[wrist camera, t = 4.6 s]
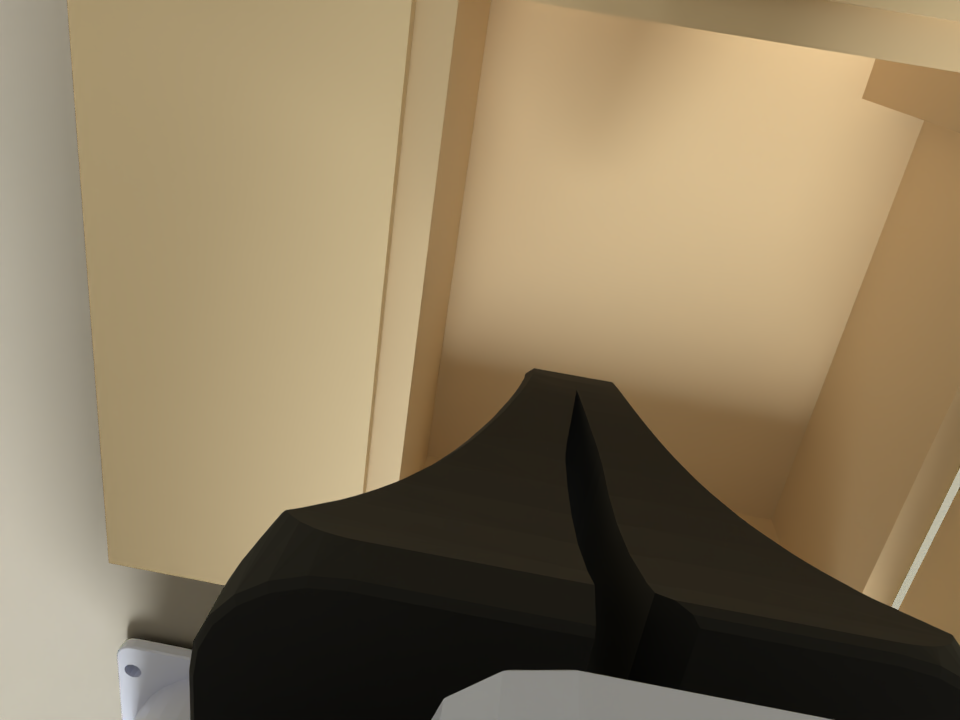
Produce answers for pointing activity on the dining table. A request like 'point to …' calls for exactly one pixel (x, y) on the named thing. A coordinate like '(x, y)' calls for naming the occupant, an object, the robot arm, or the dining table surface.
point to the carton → (521, 252)
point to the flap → (939, 578)
